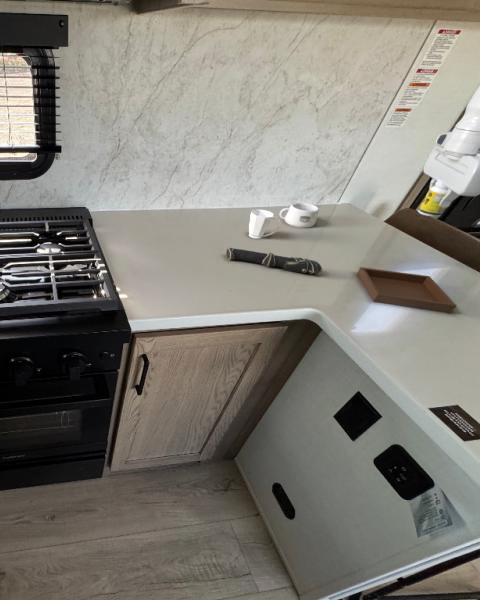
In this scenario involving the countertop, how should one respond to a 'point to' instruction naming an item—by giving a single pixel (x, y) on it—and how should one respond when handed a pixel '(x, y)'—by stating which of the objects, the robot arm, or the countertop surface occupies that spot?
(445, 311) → the tray
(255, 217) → the cup
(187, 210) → the countertop surface
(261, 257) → the twine-tied cloth roll
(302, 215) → the mug
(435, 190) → the supplement bottle
